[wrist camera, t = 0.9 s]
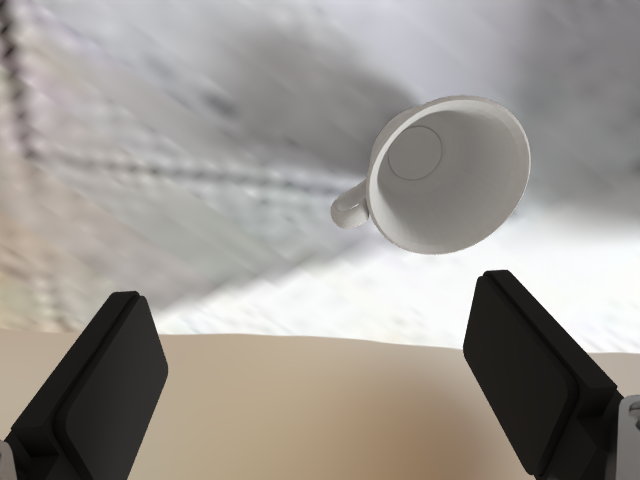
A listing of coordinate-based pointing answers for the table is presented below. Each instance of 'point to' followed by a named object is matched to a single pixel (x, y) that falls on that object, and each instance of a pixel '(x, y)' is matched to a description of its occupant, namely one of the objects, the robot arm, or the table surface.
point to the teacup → (441, 176)
